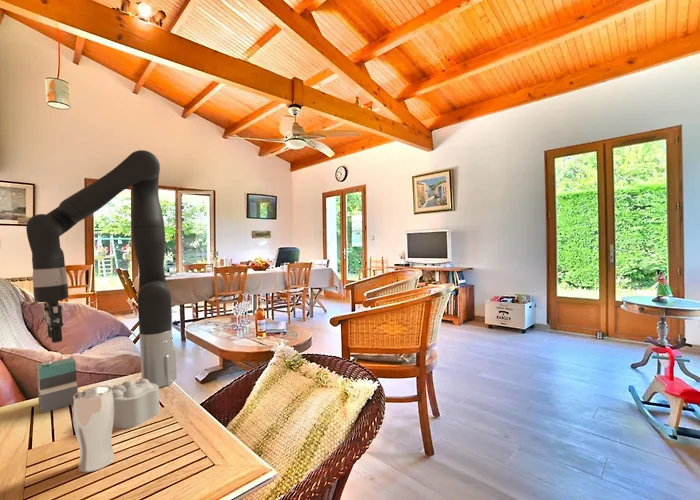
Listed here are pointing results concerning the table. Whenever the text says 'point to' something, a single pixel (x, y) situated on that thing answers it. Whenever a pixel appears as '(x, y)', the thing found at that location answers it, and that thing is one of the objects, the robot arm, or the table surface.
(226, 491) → the table surface
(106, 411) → the beer glass
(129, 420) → the lumpy-topped squat cylinder
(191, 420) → the table surface
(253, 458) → the table surface
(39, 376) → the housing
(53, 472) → the table surface
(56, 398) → the stand
